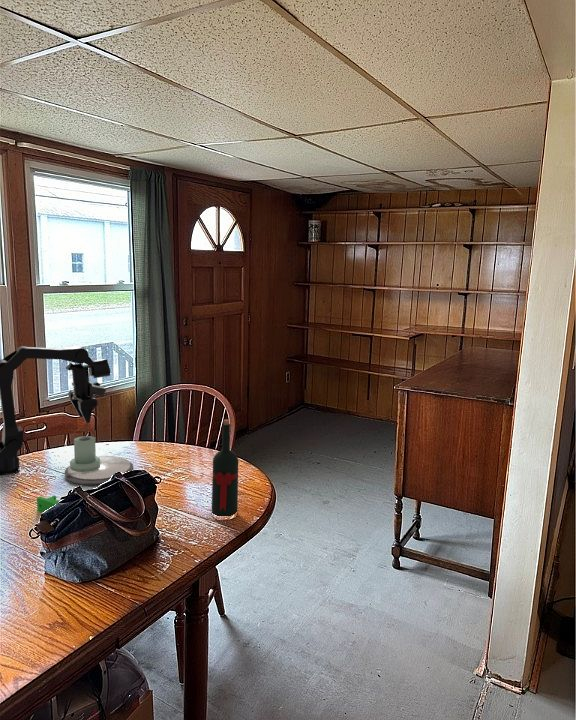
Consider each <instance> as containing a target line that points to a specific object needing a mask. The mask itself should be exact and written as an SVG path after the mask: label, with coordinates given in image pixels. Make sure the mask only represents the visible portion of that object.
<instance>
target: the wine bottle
mask: <svg viewBox="0 0 576 720" xmlns="http://www.w3.org/2000/svg"><path fill="white" fill-rule="evenodd" d="M221 445H222V447H221V449H220V450H219V451H217V452H216V454H215V455H214V456H213V458H212V479H211V480H212V483H211V486H212V487H211V488H212V489H211V514H212V513H213V514H215V515H217V516H231V515H233V514H235V513H236V512H237V513H238V510H239V509H238V506H239V504H238V503H239V501H238V498H239V497H238V495H239V458H238V456H237V454H236V453H235V452H234V451H233V450H231V447H230V445H231V423H230V419H228V418H226V419H223V423H222V440H221Z"/></svg>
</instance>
